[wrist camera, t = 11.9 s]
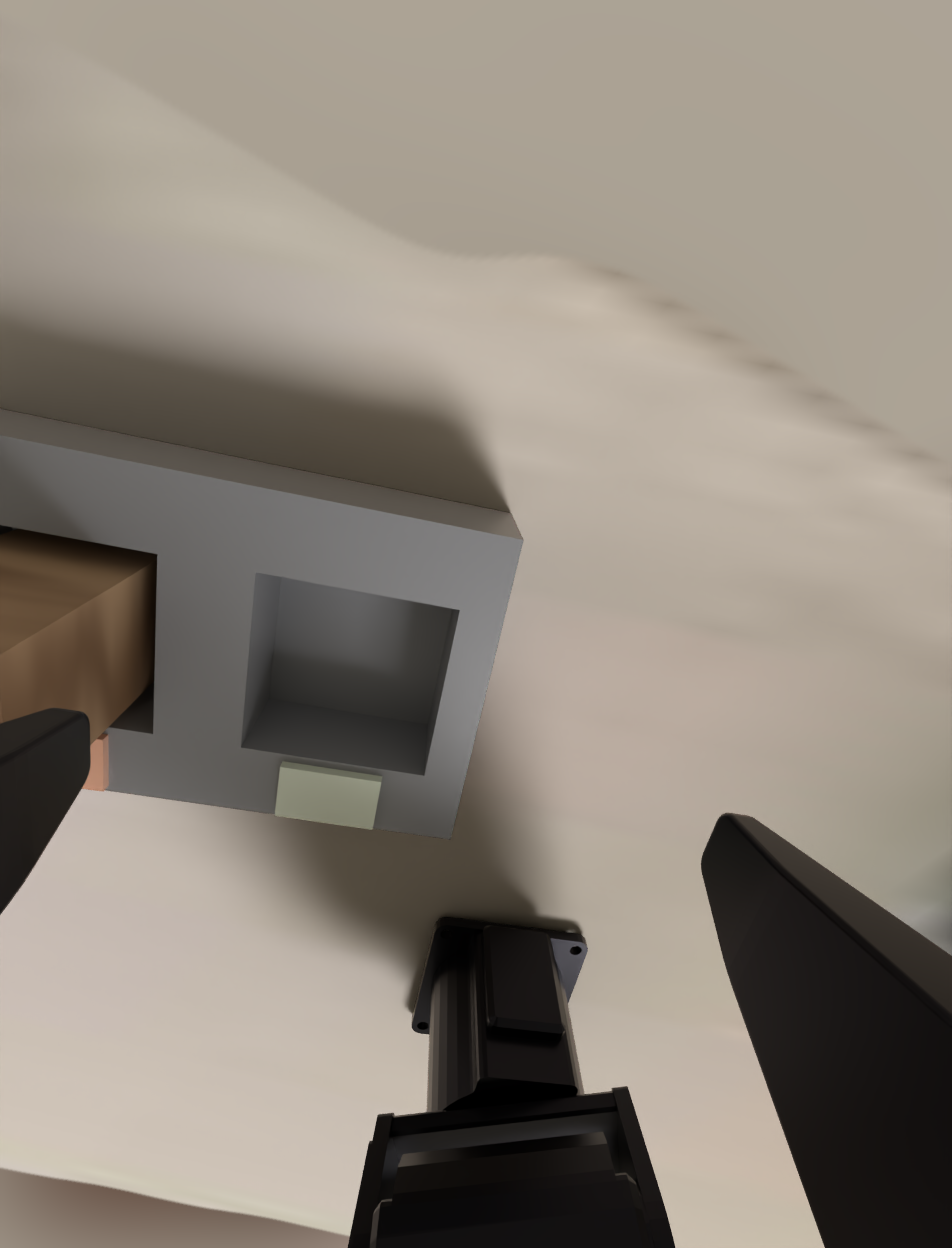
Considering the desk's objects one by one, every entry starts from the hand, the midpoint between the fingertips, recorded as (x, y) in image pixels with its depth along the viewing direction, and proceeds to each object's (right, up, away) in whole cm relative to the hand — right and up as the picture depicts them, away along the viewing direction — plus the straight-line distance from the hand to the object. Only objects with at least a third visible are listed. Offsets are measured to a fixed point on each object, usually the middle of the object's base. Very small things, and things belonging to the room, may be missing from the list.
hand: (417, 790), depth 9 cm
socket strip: (-7, +3, +12) cm, 14 cm away
